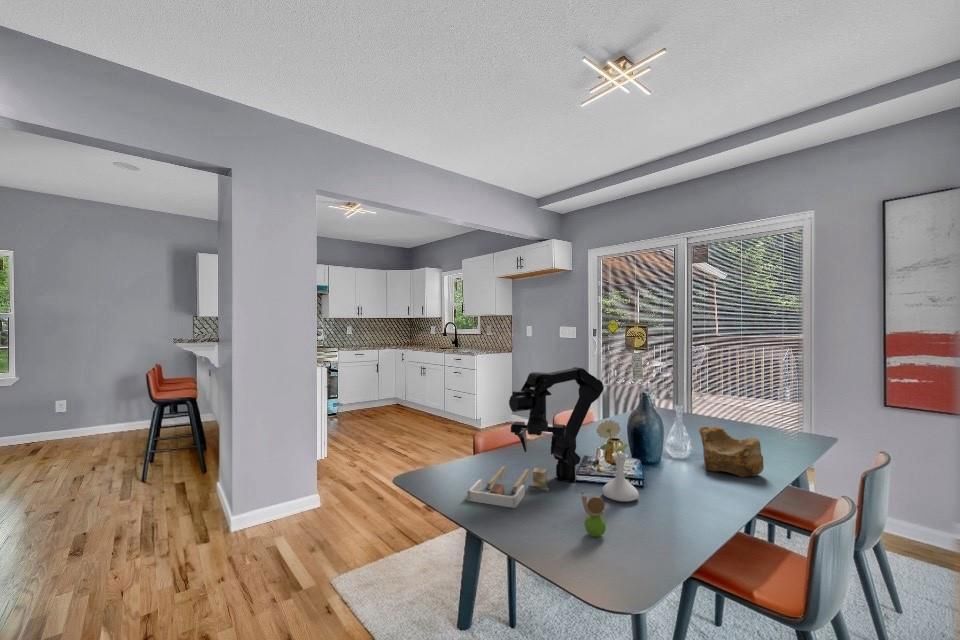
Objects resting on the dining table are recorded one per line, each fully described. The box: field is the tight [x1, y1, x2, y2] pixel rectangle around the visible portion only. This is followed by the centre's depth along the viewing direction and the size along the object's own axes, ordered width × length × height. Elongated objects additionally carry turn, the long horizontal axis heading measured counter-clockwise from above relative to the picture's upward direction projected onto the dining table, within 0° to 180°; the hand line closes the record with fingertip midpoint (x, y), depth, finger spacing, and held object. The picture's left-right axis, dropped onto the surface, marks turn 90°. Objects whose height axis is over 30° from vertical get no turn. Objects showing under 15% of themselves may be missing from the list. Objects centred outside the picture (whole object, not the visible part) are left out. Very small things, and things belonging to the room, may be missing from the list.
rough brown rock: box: [698, 426, 765, 478], centre depth 159 cm, size 23×16×15 cm
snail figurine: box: [580, 490, 607, 538], centre depth 111 cm, size 5×6×12 cm
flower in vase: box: [595, 419, 640, 503], centre depth 135 cm, size 13×11×25 cm
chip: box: [489, 487, 502, 495], centre depth 135 cm, size 3×3×3 cm
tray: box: [466, 478, 526, 509], centre depth 136 cm, size 16×11×3 cm
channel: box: [486, 465, 530, 494], centre depth 149 cm, size 10×18×2 cm, turn 159°
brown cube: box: [492, 483, 505, 495], centre depth 138 cm, size 3×3×3 cm
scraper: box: [527, 467, 550, 493], centre depth 143 cm, size 7×5×6 cm, turn 70°
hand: (538, 453), depth 146 cm, fingers open, 9 cm apart
